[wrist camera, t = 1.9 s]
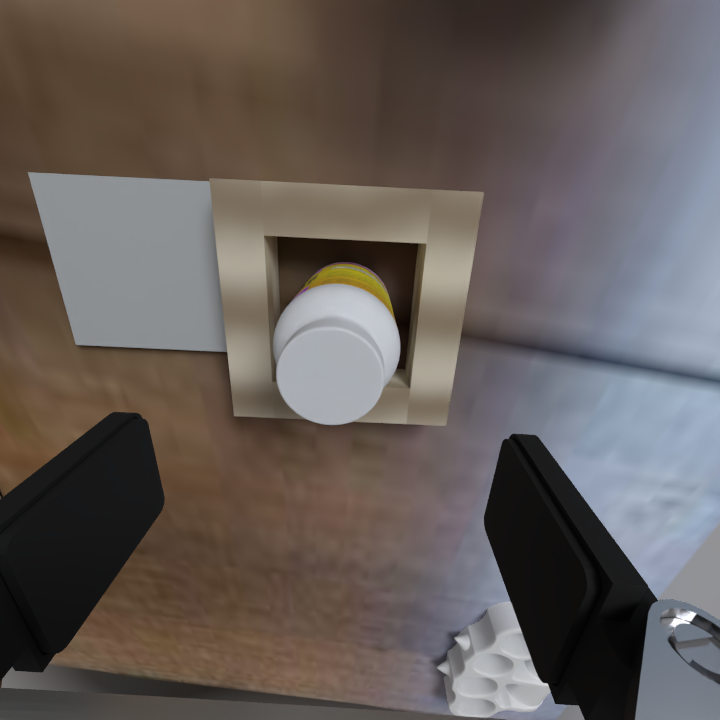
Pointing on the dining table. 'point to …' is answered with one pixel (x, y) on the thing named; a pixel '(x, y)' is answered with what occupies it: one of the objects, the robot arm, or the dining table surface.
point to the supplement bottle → (336, 345)
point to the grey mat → (134, 260)
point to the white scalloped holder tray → (492, 668)
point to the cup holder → (348, 222)
